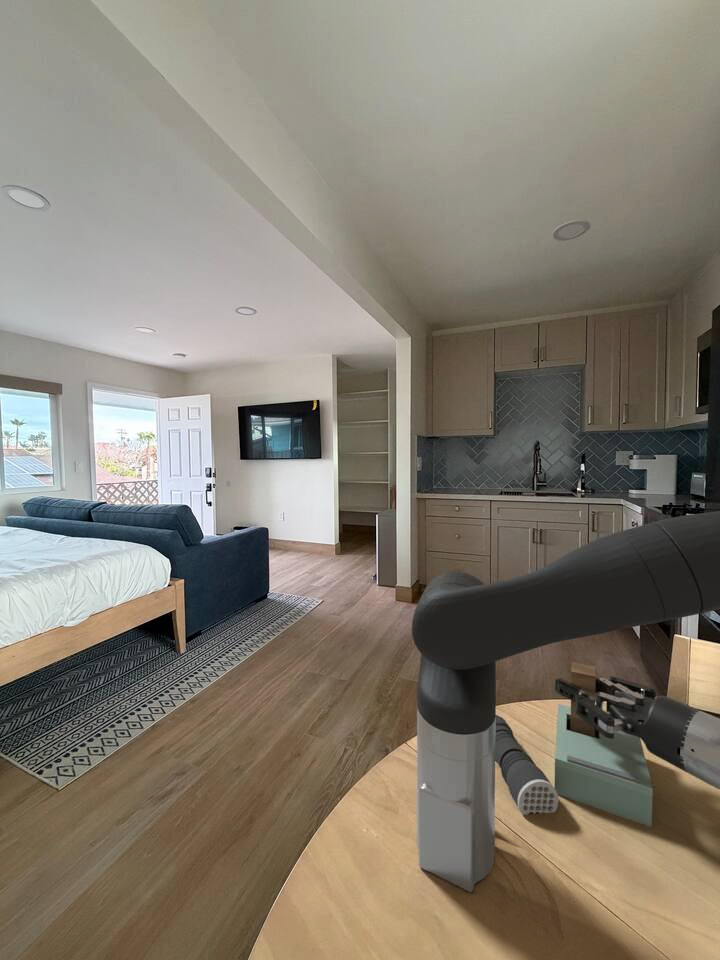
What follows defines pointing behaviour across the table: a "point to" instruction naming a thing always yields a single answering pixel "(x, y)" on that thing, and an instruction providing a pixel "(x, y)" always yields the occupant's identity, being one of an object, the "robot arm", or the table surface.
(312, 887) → the table surface
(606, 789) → the peg-in-hole base
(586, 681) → the wooden peg
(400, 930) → the table surface
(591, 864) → the table surface
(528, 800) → the flashlight
